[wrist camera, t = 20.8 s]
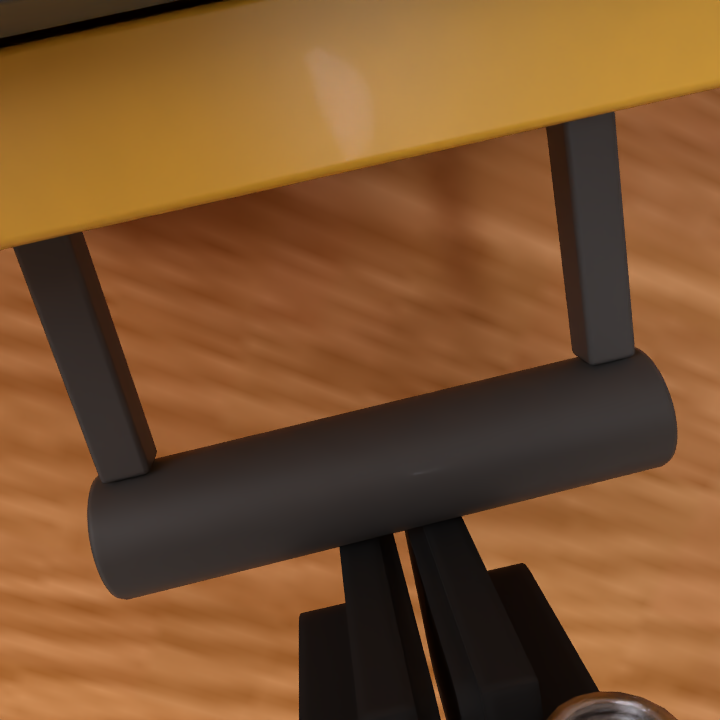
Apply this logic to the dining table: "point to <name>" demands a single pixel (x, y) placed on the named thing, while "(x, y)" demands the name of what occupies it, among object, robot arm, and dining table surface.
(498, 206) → the dining table surface
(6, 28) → the cabinet
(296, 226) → the dining table surface
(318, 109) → the yellow drawer
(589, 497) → the dining table surface
